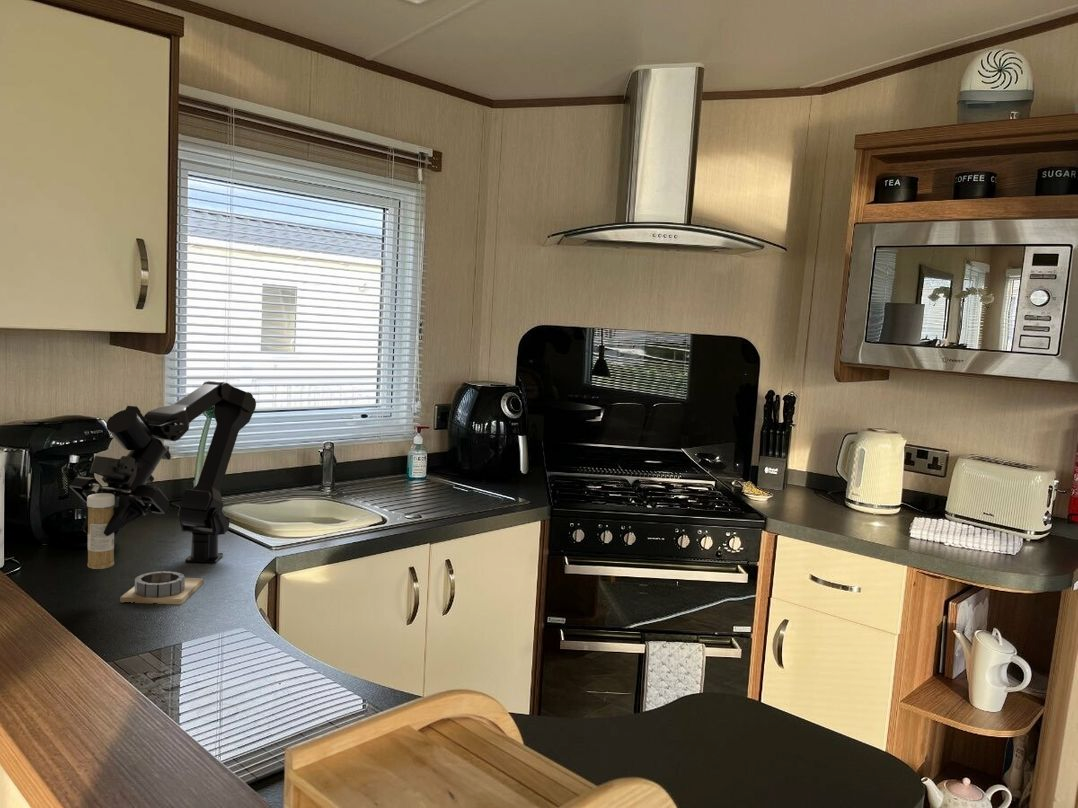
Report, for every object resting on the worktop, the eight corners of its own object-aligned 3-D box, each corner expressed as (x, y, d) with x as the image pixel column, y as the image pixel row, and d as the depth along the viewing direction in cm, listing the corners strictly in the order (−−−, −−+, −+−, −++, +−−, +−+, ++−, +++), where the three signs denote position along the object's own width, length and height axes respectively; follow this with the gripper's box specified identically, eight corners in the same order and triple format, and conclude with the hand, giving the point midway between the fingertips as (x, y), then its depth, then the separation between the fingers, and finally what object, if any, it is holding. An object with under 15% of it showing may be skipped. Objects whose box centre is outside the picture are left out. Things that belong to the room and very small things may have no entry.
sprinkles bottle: (93, 562, 160) (93, 492, 158) (118, 562, 160) (118, 492, 159) (82, 569, 155) (82, 497, 154) (108, 570, 156) (108, 498, 154)
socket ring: (145, 583, 167) (145, 570, 166) (190, 584, 167) (190, 572, 167) (127, 596, 158) (128, 583, 158) (174, 598, 159) (175, 585, 159)
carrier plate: (147, 581, 171) (147, 571, 171) (203, 583, 172) (203, 573, 171) (120, 602, 158) (120, 591, 158) (181, 604, 159) (181, 594, 159)
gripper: (77, 434, 162) (28, 502, 152) (159, 444, 157) (113, 515, 147) (108, 468, 170) (63, 535, 161) (187, 478, 165) (146, 548, 156)
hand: (95, 533), depth 156 cm, fingers closed on sprinkles bottle, 4 cm apart
